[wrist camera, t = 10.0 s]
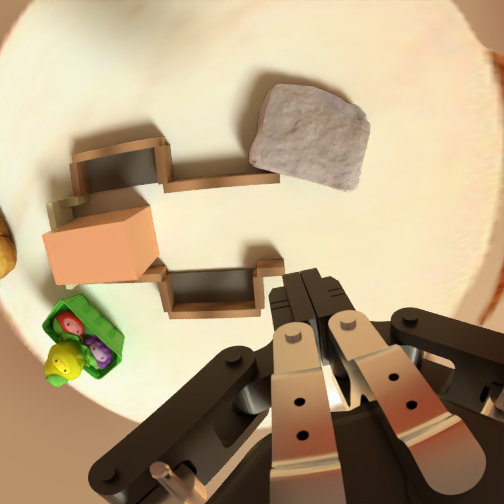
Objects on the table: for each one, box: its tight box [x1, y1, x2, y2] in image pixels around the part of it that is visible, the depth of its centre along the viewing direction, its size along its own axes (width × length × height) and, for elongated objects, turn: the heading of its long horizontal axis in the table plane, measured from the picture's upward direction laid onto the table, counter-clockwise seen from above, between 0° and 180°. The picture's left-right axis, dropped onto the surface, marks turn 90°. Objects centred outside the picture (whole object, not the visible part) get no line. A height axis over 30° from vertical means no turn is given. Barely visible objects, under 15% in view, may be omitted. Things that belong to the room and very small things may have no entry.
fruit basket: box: [42, 294, 125, 387], centre depth 36 cm, size 11×9×11 cm
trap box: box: [59, 137, 285, 319], centre depth 35 cm, size 26×21×2 cm
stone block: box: [249, 83, 370, 192], centre depth 31 cm, size 12×5×10 cm
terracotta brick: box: [42, 206, 160, 285], centre depth 33 cm, size 11×6×8 cm, turn 97°
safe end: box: [46, 197, 78, 289], centre depth 35 cm, size 1×11×4 cm, turn 4°
